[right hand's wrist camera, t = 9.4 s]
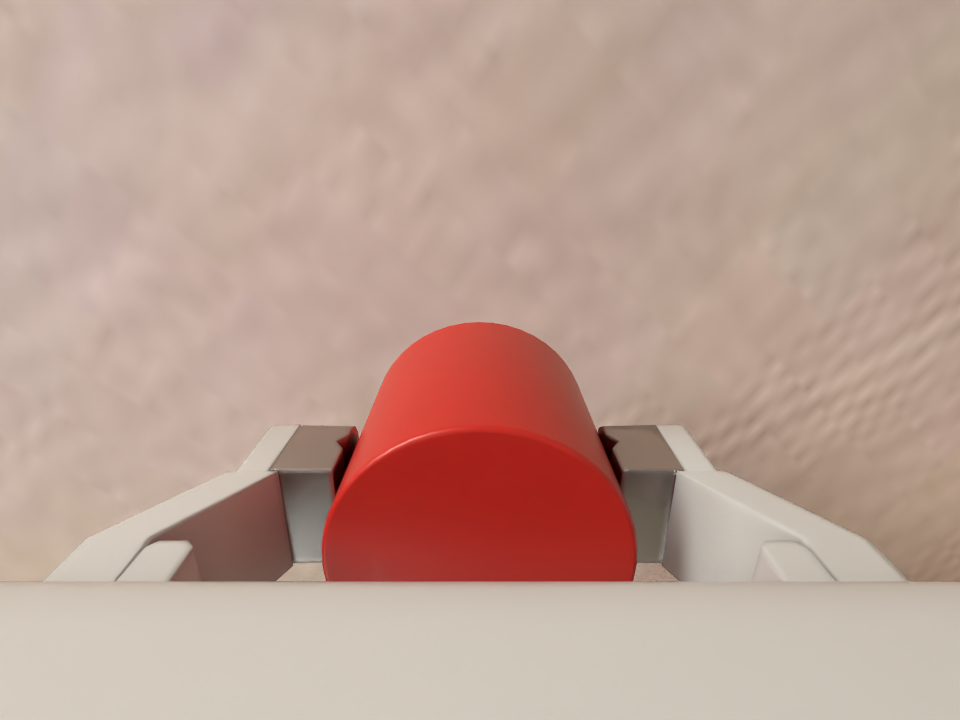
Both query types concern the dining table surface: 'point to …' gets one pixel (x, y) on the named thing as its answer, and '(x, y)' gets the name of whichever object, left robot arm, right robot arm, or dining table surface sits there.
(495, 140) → the dining table surface
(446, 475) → the canister
